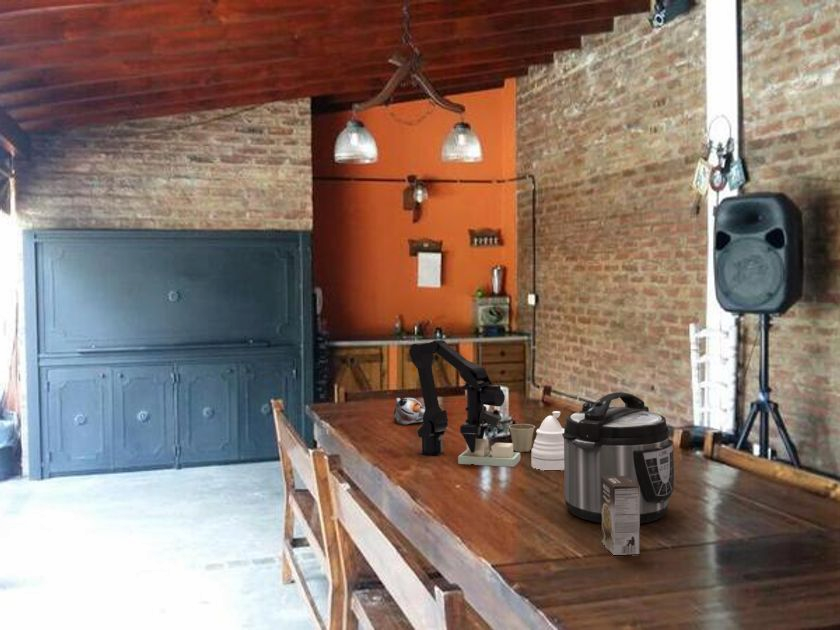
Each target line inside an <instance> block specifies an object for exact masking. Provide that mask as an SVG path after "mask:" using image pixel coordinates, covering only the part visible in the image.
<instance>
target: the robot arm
mask: <svg viewBox="0 0 840 630" xmlns="http://www.w3.org/2000/svg"><path fill="white" fill-rule="evenodd" d="M408 353H409V354H408V355H409V357H410V360H411V363H412V364H413V365H414V366H415V368H416V369H417V374H418V378H419V383H420V389H421V394H422V399H423V404H424V407H425V412H424V415H423V422H422V425H421V427H420V428H419V429H418V430H417V435H418V437H419V438H421V452H420V455H426V456H427V455H428V456H439V455H440V454H442V453H443V452H444V447H443V446H444V445H443V444H444V442H443V441H444V440H443V439H442V436H444V435H445V433H446V430H447V428H448V424H449V423H448V422H449V419H448V414H447V410H446V409H442V408H441V407H440V403H439V400H438V394H437V389H436V384H435V379H434V374H433V368H432V365H433V362H434V354H436V355H438V356H440V357H441V358H442V359H443V360H444V361H446V363H448V365H451V366H452V367H453V368H455V369H456V371H458V372H459V376H460V378H461V379H462V380H463V381H464V382H465V384H464V385H463V386H462V387H461V390H462V391H466V407H465V411H466V415H467V417H466V419H465V422H464V423H462V425H460V426H459V433H460V434H461V435H462V437H463V438H464V440H465V443H466V446H467V445H468V447H469V449H470V451H471V452H472V453H474V452H475V445H476V439H484V436H485V432H486V430H488V428H489V427H490V426H491V427H494V428H498V426H499V425H500V422H501V420H502V415H501V413H500V410H498V409H494V410H493V411H491V410H490V411H489V410H487V406H494V407H502V406H503V404H504V403H505V400H506V399H505V397H506V394H505V392H504V390H502V387H501V385H494V384H493V382H492V380H491V379H490V377H489V375H488V373H487V369H486V368H485V367H484V366H482V365H480V364H478V363H476V362H473V361H470V360H468V359H467V358H466V357H465V356H463V355H462V354H460V353H459V352H458V351H456V350H455V349H454V348H452V347H451V346H450V345H449V344H448V343H447V341H445V340H443V339H437V340H433V341H430V342H429V341H428V342H418V343H412V344H411V345H410V347H409V349H408Z"/></svg>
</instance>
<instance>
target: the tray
mask: <svg viewBox="0 0 840 630" xmlns="http://www.w3.org/2000/svg"><path fill="white" fill-rule="evenodd" d="M520 461H521V452H516V451H515V452H514V450H513V442H511V443H509V442H495V443H494V444H492V445H491V450H489V454H488V455H487V456H486V457H474V456H467V449H466V450H464V451H463V452H462V453H460V454H459V455H458V457H457V463H458V464H459V465H471V464H474V465H475V466H489V465H490V466H491V467H493V466H494V467H509V468H514V467H516V466H517V465H518V464H519V462H520Z"/></svg>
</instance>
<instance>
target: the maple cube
mask: <svg viewBox="0 0 840 630" xmlns="http://www.w3.org/2000/svg"><path fill="white" fill-rule="evenodd" d="M489 444H490V443H489V439H488V438H486V439H485V438H483V439H476V445H475V452H474V453H472V452H471V451H470V449H469V447H468V445H467V444H466V450H467V456H474V457H486V456H487V455H488V454H489V451H490V450H489V449H490V448H489V446H490V445H489Z"/></svg>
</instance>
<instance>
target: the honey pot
mask: <svg viewBox="0 0 840 630" xmlns="http://www.w3.org/2000/svg"><path fill="white" fill-rule="evenodd" d="M551 414H552V415H548V416H546V417H545V418H544V419H543V421H542V422H541V424H540V427H539V428H537V429H536V431H535V432H536V436H535V439H534V440H533V441H534V443H533V444H532V447H531V451H530V452H531V457H530V458H531V460H530V461H531V462H530V463H531V467H532V468H533V469H535V468H536V469H535V470H538V469H540V470H539V471H544V470H561V471H564V438H563V435H562V433H564V427H562V425H561V423H560V422H559V420H558V418H560V416H561V411H558V410H557V411H556V410H555V411H552V413H551Z"/></svg>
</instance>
